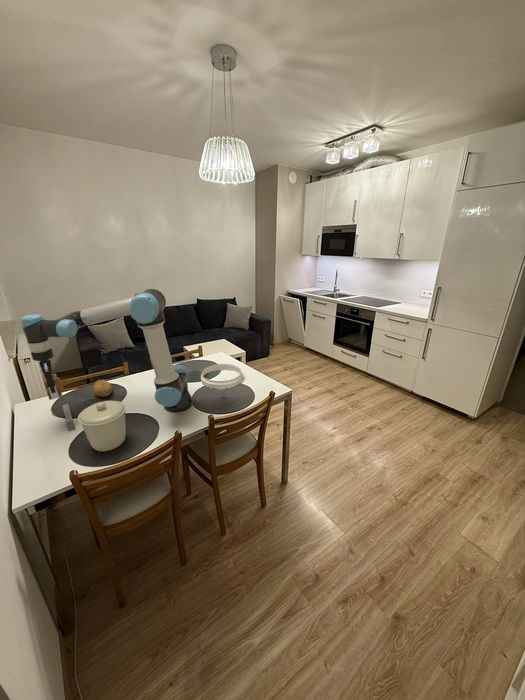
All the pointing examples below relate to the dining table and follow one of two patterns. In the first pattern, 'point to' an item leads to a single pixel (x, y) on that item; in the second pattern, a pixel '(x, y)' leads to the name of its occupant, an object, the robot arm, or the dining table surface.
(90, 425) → the canister
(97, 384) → the potato
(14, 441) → the dining table surface
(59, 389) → the block
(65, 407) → the grey bar
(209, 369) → the white flat ring
